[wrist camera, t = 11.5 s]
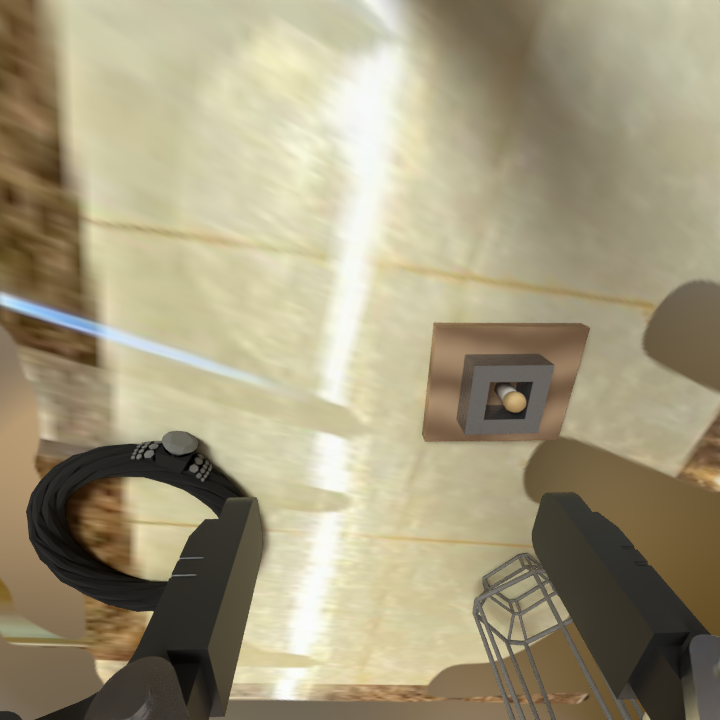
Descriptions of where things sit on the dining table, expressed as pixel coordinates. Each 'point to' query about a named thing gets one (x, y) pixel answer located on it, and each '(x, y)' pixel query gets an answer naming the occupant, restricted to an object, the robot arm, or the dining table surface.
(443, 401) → the keeper block
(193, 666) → the robot arm
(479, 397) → the grey square frame
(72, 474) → the black studded ring
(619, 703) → the geometric lantern
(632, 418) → the dining table surface
